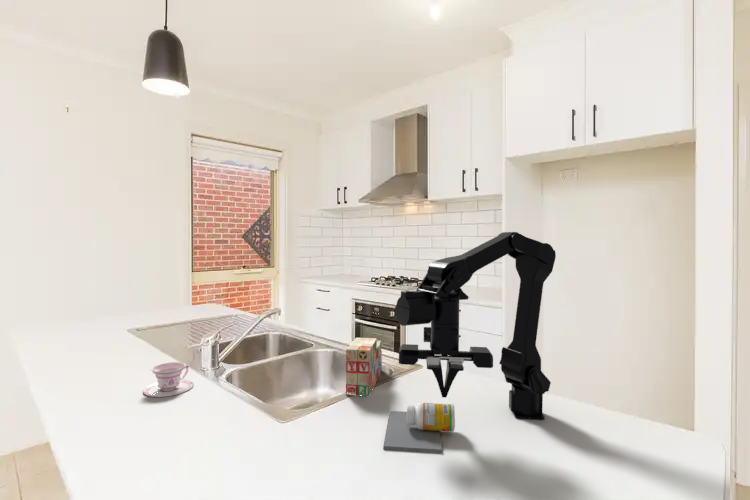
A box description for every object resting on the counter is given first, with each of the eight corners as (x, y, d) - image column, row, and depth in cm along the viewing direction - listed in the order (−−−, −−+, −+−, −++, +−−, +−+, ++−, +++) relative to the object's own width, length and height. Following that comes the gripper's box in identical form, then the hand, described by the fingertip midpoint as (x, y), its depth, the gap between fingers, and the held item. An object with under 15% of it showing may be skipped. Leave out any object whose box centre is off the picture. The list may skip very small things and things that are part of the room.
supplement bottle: (453, 428, 86) (407, 425, 87) (453, 402, 87) (407, 399, 88) (455, 435, 80) (406, 431, 82) (455, 406, 81) (406, 403, 83)
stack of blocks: (361, 369, 125) (362, 330, 125) (381, 370, 124) (382, 330, 124) (345, 395, 104) (345, 348, 104) (369, 397, 103) (369, 349, 103)
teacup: (148, 402, 99) (148, 377, 99) (138, 388, 108) (138, 365, 108) (199, 390, 107) (199, 367, 107) (186, 378, 116) (186, 357, 116)
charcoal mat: (437, 415, 92) (437, 413, 92) (441, 452, 76) (441, 449, 76) (389, 413, 93) (389, 410, 93) (383, 449, 77) (383, 445, 77)
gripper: (485, 315, 90) (484, 385, 91) (401, 313, 92) (400, 381, 93) (494, 326, 79) (493, 405, 80) (399, 323, 81) (398, 400, 82)
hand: (444, 396), depth 84 cm, fingers closed
